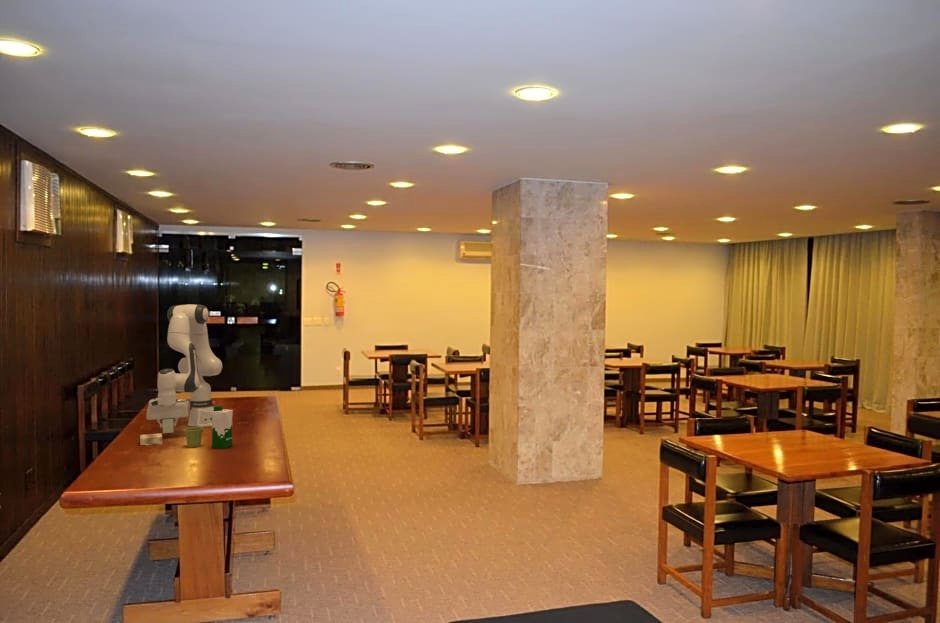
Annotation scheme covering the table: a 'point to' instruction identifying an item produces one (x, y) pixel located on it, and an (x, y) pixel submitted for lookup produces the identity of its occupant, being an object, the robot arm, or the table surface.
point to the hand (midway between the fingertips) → (168, 426)
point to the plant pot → (193, 436)
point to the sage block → (168, 425)
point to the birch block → (151, 439)
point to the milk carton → (221, 427)
